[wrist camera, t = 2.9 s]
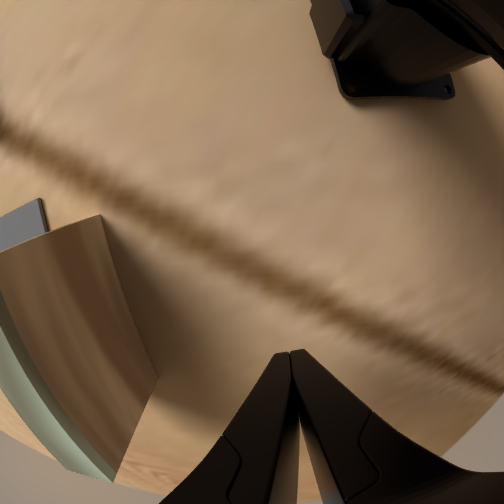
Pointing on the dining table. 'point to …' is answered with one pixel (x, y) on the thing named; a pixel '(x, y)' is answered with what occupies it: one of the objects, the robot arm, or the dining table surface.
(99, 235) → the oak slab
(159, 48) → the dining table surface
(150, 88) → the dining table surface
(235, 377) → the dining table surface
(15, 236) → the rubber mat
